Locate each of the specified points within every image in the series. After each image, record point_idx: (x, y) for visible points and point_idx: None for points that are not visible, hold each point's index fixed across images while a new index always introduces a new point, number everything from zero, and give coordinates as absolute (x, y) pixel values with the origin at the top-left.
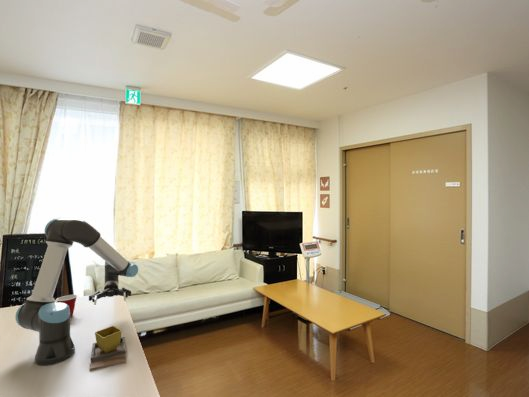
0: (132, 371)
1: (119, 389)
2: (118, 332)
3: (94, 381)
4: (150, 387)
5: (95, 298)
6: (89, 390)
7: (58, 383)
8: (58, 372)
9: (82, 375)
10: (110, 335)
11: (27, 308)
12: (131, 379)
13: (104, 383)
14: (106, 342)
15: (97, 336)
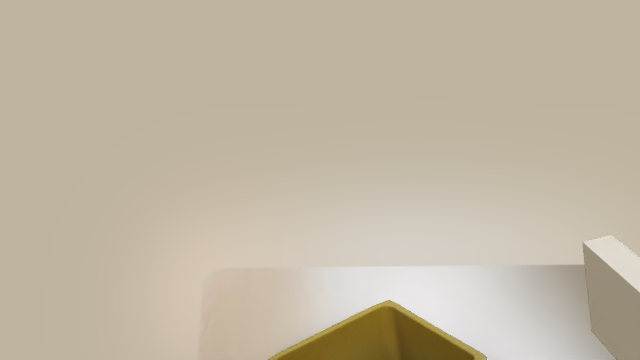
0: (254, 337)
1: (303, 274)
2: (289, 350)
3: (403, 300)
4: (207, 280)
5: (632, 271)
6: (406, 271)
7: (563, 295)
8: None
9: (476, 327)
10: (343, 323)
11: None
12: (262, 305)
13: (360, 293)
14: (377, 350)
15: (452, 353)
